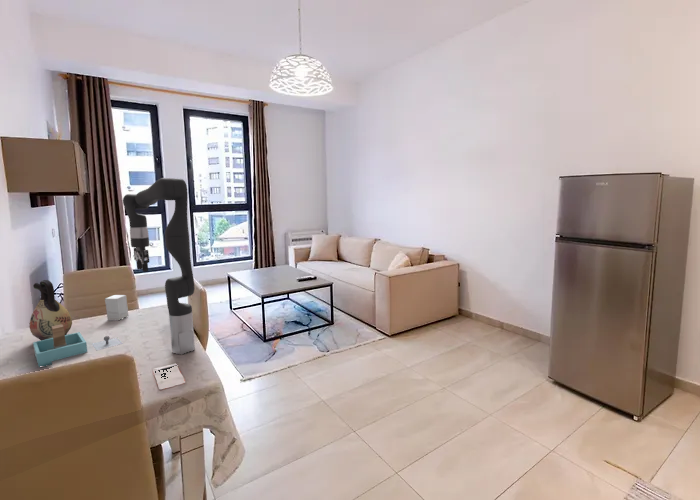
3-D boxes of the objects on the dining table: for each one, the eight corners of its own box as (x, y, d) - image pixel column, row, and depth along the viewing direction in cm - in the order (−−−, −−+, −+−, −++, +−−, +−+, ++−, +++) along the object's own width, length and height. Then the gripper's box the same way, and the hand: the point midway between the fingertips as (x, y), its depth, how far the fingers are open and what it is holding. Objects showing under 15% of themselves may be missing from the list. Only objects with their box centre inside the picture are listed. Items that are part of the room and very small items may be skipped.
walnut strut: (67, 352, 152) (64, 326, 150) (55, 355, 149) (52, 328, 147) (66, 350, 155) (62, 324, 153) (54, 353, 152) (50, 326, 150)
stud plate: (123, 346, 160) (122, 336, 160) (96, 353, 153) (95, 342, 153) (117, 340, 167) (116, 330, 166) (92, 346, 160) (90, 336, 159)
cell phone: (159, 391, 124) (158, 389, 124) (152, 371, 139) (152, 369, 139) (186, 384, 130) (186, 381, 129) (177, 365, 144) (176, 362, 144)
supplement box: (129, 316, 200) (126, 294, 198) (119, 320, 193) (117, 298, 191) (117, 315, 201) (114, 294, 199) (106, 320, 194) (104, 298, 192)
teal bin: (87, 355, 152) (86, 342, 151) (38, 368, 141) (36, 353, 140) (81, 344, 163) (79, 331, 162) (35, 355, 152) (33, 342, 151)
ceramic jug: (25, 342, 165) (16, 280, 160) (64, 331, 178) (56, 273, 174) (43, 349, 157) (33, 284, 152) (82, 337, 171) (74, 277, 166)
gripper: (126, 236, 169) (129, 269, 171) (135, 238, 159) (138, 273, 162) (143, 235, 175) (146, 267, 177) (153, 237, 165) (156, 271, 167)
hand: (142, 270), depth 169 cm, fingers open, 8 cm apart
